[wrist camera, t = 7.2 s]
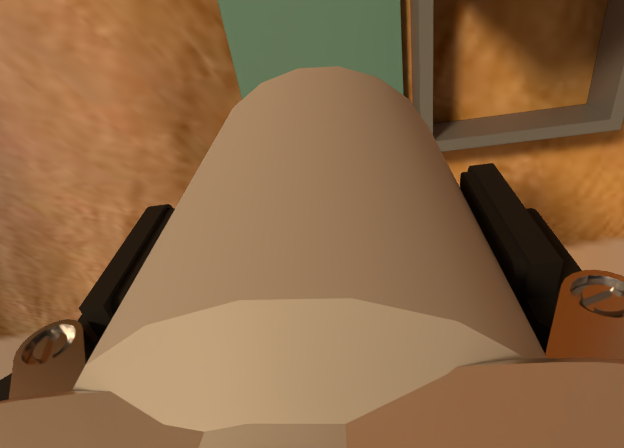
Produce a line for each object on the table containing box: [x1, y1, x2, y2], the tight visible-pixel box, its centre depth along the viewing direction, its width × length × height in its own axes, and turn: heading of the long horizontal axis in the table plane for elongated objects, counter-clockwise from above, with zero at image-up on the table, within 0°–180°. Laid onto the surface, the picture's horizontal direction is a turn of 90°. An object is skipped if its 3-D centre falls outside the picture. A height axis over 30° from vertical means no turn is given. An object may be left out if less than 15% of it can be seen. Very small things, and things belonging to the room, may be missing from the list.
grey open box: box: [410, 0, 624, 152], centre depth 21 cm, size 13×14×13 cm
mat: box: [218, 0, 403, 99], centre depth 28 cm, size 11×11×1 cm
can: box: [72, 66, 546, 448], centre depth 10 cm, size 8×8×12 cm
